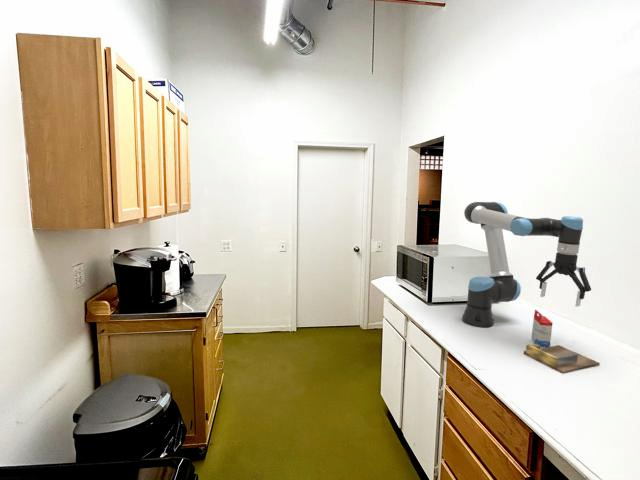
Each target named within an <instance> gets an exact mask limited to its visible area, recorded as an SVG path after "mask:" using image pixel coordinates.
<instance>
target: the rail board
mask: <svg viewBox="0 0 640 480" xmlns="http://www.w3.org/2000/svg"><path fill="white" fill-rule="evenodd" d="M523 355H525V356H528V357H530V358H532V359H533V360H535V361H537V362H539V363H542V364H543V365H545V366H547V367H549V368H551V369H553V370H555V371H557V372H559V373H561V374H567V373H571V372H575V371H581V370H584V369H588V368H589V369H590V368H593V367H598V366H600V365H601V362H598V361H596V360H594V359H592V358H589V357H587V356H585V355H583V354H580V353H578V352H576V351H573V350H571V349H569V348H566V347H564V346H561V345H559V344H557V345H552V346H551V345H550V347H540V346H539V345H537V344H535V343H533V344H527V343H526V347H525V350H523Z"/></svg>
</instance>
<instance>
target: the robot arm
mask: <svg viewBox="0 0 640 480" xmlns="http://www.w3.org/2000/svg"><path fill="white" fill-rule="evenodd" d="M463 212H464V213H463V215H464V217H465V220H466V221H468V222H469V223H472V224H476V225H480V228H481V229H482V230H483V231H484V235H485V241H486V248H487V253H488V254H487V255H488V262H489V267H490V272H491V273H490V275H489V276H475V277H472V278H471V279H470V280H469V283H468V286H467V287H468V289H467V290H468V291H467V299H466V300H467V302H466V307H465V309H464V312H463V313H462V317H461V320H462V322H464V323H465V324H466V325H469V326H474V327H477V328H479V327H480V328H490V327H493V326H494V323H495V319H494V317H493V312H492V306H493V305H492V304H493V303H509V302H514V301H516V300H517V299H518V298H519V297H520V295H521V291H522V289H521V284H520V282H519V281H518V280H517V279H515V278H514V274H513V273H512V272H510V268H509V263H508V256H507V251H506V244H505V239H504V233H503V232H504V231H508V232H511V233H512V235H514V236H519V237H532V236H533V237H536V236H542V237H543V236H544V237H545V236H549V237H554V238H555V237H556V238H558V241H557V248H556V251H557V252H556V254H555V259H554V262H553V261H552V260H547V261H546V262H545V265H544V267H543V268H542V269H541V271H540V272H539V273H538V275H537V276H536V278H535V280H537V281H539V289H540V297H541V298H544V297H545V296H546V290H547V285H548V282H547V281H548V280H549V279H550V278H552V277H553V276H554V275H556V274H558V275H565V276H569V277H570V278H571V280H572V282H574V284H575V285H576V286H577V288H578V289H579V290H578V291H577V294H576V299H575V305H574V306H575V307H579V306H581V303H582V300H584V299H585V295H586V292H590V291H592V287H591V285H590V282H589V280H588V278H587V274H586V267H584V266H582V267H579V266H577V262H578V256H579V255H578V254H579V251H580V249H579V248H580V244H581V237H582V234H583V229H584V228H583V227H584V219H583V218H582V217H580V216H568V215H567V216H565V215H563V216H562V217H561V219H556V218H555V219H554V218H550V217H540V218H528V217H522V216H518V215H515V214H514V215H513V214H510V213H509V212H508V209H507V207H506V206H505V205H504V204H503V203H501V202H496V201H475V202H471V203H469V204H468V205H467V206H466V207H465V209H464V210H463ZM503 230H504V231H503ZM551 267H554V269H553V270H552V271H551V272H550V273H548V274H546V273H547V272H548V271H549V269H550V268H551ZM575 271H577V273H579V277H580V279H579V277H578V275H577V274H576V272H575ZM544 275H545V276H544Z"/></svg>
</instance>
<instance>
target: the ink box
mask: <svg viewBox="0 0 640 480" xmlns="http://www.w3.org/2000/svg"><path fill="white" fill-rule="evenodd" d="M532 322H533V323H532V332H531V341H532V342H533V344H537V345H539V346H540V348H545V347H550V346H551V339H552V331H553V322H552V321H551V320H550V319H548V317H546V316H544V315H543V314H541V313H540V311H538V310H537V309H535V310H534V316H533V321H532Z"/></svg>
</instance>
